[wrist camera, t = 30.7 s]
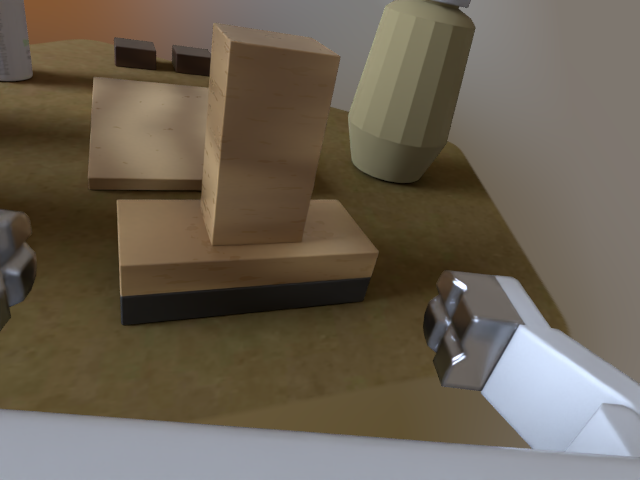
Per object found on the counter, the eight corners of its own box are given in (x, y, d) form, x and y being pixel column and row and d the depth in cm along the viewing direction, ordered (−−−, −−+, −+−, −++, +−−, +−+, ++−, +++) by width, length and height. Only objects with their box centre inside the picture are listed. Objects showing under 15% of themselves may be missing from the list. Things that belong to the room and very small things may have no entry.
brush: (327, 245, 27) (376, 43, 21) (363, 301, 23) (436, 74, 17) (118, 253, 22) (109, 1, 16) (121, 326, 18) (110, 31, 13)
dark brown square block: (206, 66, 55) (208, 49, 54) (212, 76, 52) (214, 57, 51) (171, 62, 53) (172, 44, 52) (175, 72, 50) (176, 53, 49)
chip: (153, 60, 52) (153, 42, 51) (156, 70, 49) (156, 50, 48) (114, 56, 51) (114, 37, 50) (115, 66, 48) (114, 45, 47)
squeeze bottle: (320, 164, 36) (381, -117, 27) (361, 142, 43) (421, -91, 33) (415, 203, 34) (518, -94, 24) (443, 173, 40) (533, -70, 31)
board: (246, 99, 47) (247, 91, 47) (313, 191, 32) (315, 181, 32) (94, 85, 41) (93, 76, 41) (88, 190, 26) (87, 177, 26)
